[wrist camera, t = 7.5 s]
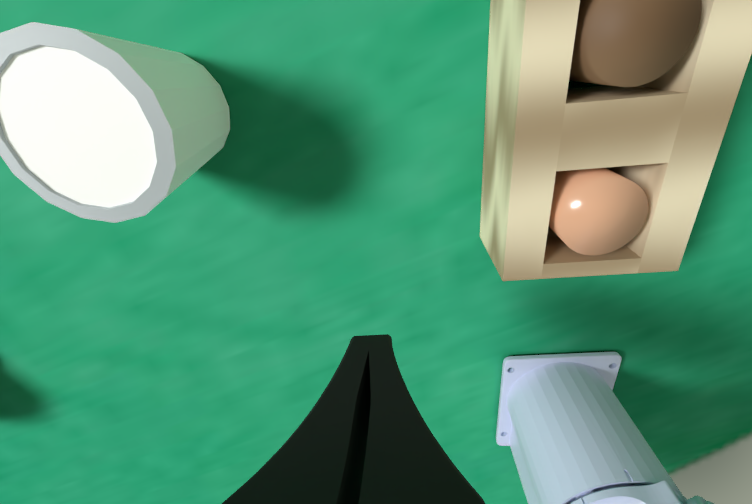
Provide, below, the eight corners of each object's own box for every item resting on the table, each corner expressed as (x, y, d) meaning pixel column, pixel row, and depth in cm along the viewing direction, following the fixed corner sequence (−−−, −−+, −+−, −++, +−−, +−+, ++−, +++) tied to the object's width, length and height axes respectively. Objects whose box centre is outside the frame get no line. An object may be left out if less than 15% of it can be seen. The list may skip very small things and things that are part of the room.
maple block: (618, 227, 21) (677, 270, 17) (479, 236, 22) (502, 280, 18) (684, -55, 15) (803, -100, 11) (491, -32, 16) (531, -67, 12)
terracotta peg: (586, 213, 21) (637, 252, 16) (521, 217, 21) (554, 257, 17) (598, 148, 19) (658, 174, 15) (527, 154, 19) (566, 181, 15)
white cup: (86, 39, 18) (-75, 28, 12) (224, 30, 17) (134, 14, 11) (136, 177, 21) (31, 227, 15) (254, 172, 21) (197, 220, 14)
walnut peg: (611, 76, 17) (683, 82, 13) (534, 83, 18) (580, 91, 13) (629, -16, 16) (717, -43, 12) (543, -6, 16) (599, -30, 12)
